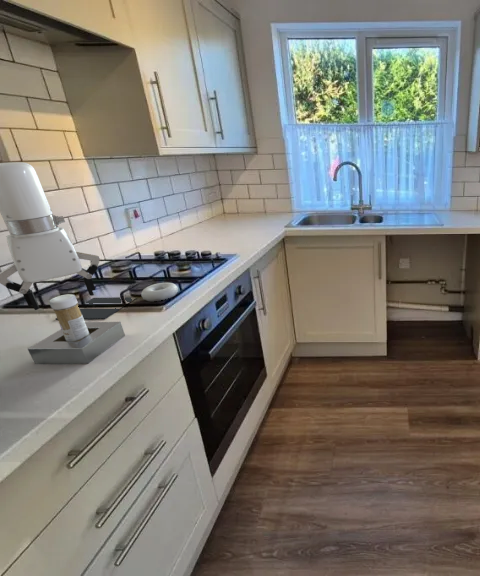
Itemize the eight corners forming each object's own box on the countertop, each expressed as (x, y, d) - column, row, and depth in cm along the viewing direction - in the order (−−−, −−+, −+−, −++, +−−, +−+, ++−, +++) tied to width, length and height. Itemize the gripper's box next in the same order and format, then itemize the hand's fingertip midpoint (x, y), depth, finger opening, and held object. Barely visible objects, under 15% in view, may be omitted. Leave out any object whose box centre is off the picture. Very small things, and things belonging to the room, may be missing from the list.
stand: (34, 364, 80) (27, 348, 79) (78, 335, 92) (72, 322, 90) (87, 363, 80) (81, 348, 79) (125, 335, 91) (120, 321, 90)
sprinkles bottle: (67, 351, 85) (45, 299, 80) (89, 342, 89) (69, 292, 84) (76, 356, 83) (53, 303, 78) (98, 346, 87) (78, 295, 81)
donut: (138, 298, 113) (149, 306, 107) (135, 287, 112) (145, 295, 106) (172, 288, 120) (184, 295, 114) (170, 278, 119) (181, 285, 112)
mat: (55, 319, 100) (55, 318, 100) (94, 298, 113) (93, 297, 113) (104, 319, 100) (104, 318, 100) (137, 298, 113) (137, 297, 113)
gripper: (82, 216, 82) (108, 285, 89) (-26, 231, 71) (12, 308, 78) (87, 220, 77) (113, 293, 84) (-29, 238, 66) (12, 319, 73)
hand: (65, 300), depth 81 cm, fingers open, 9 cm apart
